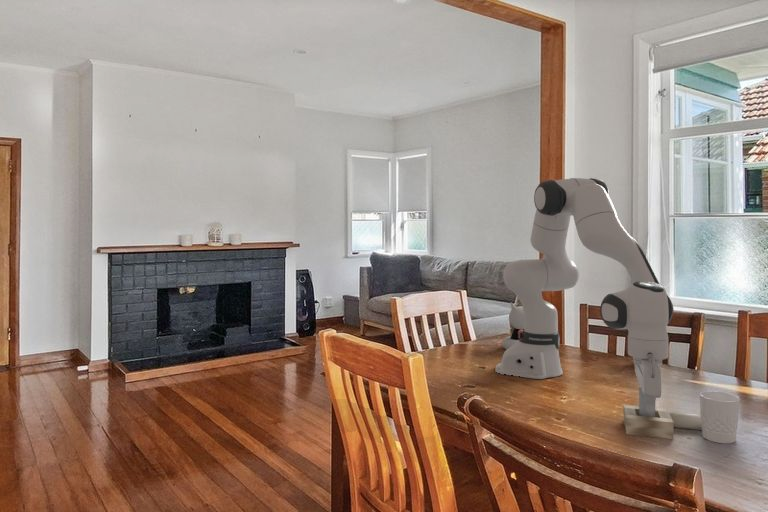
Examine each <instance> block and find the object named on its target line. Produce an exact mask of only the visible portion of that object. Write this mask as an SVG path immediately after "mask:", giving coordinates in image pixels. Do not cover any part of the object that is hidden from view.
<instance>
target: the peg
mask: <svg viewBox="0 0 768 512" xmlns="http://www.w3.org/2000/svg"><path fill="white" fill-rule="evenodd" d="M645 402H646V401H645V396H644V394H643V392H642V389H641V387H639V388H638V406H639V416H646V417H655V408H656V404H655V405H654V412H647V411H646V409H645Z"/></svg>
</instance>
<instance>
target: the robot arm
mask: <svg viewBox="0 0 768 512" xmlns="http://www.w3.org/2000/svg"><path fill="white" fill-rule="evenodd" d="M533 201H534V205H535V209H536V210H535V214H534V219H533V223H532V228H531V235H530V244H531V246H532V248H533V249H534V250H536V251H537V252H538V253H540V254H542V258H539V259H531V258H530V259H520V260H514V261H511V262H508V263H507V265H505V267H504V269H503V273H502V276H503V277H502V279H503V281H504V282H503V283H504V284H505V287H506V288H507V289H509V290H510V291H511V292H512V293H514V294H515V295H516V297H517V298H518V299H519V301H520V304H521V306H522V307H523V312H524V330H522V329H521V330H519V331H518V340H519V341H518V342H517V343H515V344H514V345H512V346H511V347H510V348H508V349H507V350H506V349H505V351H504V352H503V355H502V358H501V362H499V363H498V364H496V365H495V369H494V370H495V373H496V372H497V373H496V374H498V373H500V374H499V375H504V374H506V376H511V375H513V376H512V377H519V376H520V378H527V379H536V380H544V379H547V378H548V379H549V378H556V377H559V376H561V375H563V373H564V371H563V369H562V366H561V361H560V353H559V351H560V350H559V349H560V341H561V339H560V332H559V329H558V328H559V326H558V325H559V319H558V318H559V315H558V310H557V308H556V306H555V305H553V304H552V303H550V302H548V301H546V300H544V297H543V294H542V292H555V291H556V292H558V291H559V292H560V291H564V290H569V289H572V288H574V287H575V286H576V284H577V283H578V281H579V279H580V278H579V277H580V275H579V274H580V272H579V269H578V267H577V265H576V263H575V261H573V260H571V258H569V256H568V253H567V251H566V245H567V237H568V231H569V226H570V221H571V216H573V220H574V225H575V227H576V231H577V235H578V237H579V241H580V242H581V244H582V246H584V247H585V248H586V249H587V250H589V251H590V252H592V253H595V254H598V255H602V256H605V257H607V258H610V259H612V260H615V261H617V262H618V263H620V264H621V265H622V266H623V267H625V269H626V271H627V273H628V276H629V278H630V279H631V281H632V283H631V284H630V285H629V286H628V287H627V288H625V289H623V290H619V291H616V292H612V293H608V294H607V295H605V296H604V298H602V301H601V304H600V308H599V310H600V317H601V321H603V323H604V324H605V325H606V326H607V327H608V328H610V329H612V330H613V329H614V330H617V331H618V330H621V331H622V330H627V331H628V334H627V355H628V356H630V357H631V358H633V366H634V372H635V373H634V374H635V375H636V377H637V378H636V379H637V382H638V383H639V386H640V387H641V389H642V392H643V394H644V396H645V401H646V402H645V409H646V411H647V412H654V405H655V406H656V400H657V399H659V398H661V397H662V371H661V370H662V369H661V365H662V364H663V360H666V359H668V358H669V334H668V330H667V328H668V324H669V323H670V322H671V320H672V318H673V316H674V304H673V302H672V299H671V298H670V297H669V295H668V294H667V290H666V288H665V287H664V286H662V285H661V284H660V281H659V280H658V278H657V276H656V274H655V273H654V270H653V269H652V266H651V265H650V263H649V260H648V258H647V257H646V254H645V253H644V250H643V249H642V247H641V246H640V244H639V243H638V241H637V240H636V239H635V238H634V237H633V236H631V235H630V234H629V233H628V232H627V230H626V229H625V228H624V226H623V225H622V224H621V221H620V219H619V217H618V214H617V210H616V209H615V206H614V204H613V202H612V199H611V198H610V190H609V188H608V185H607V184H606V182H605V181H603V180H602V179H598V178H592V177H591V178H584V177H583V178H581V177H571V178H565V179H563V178H562V179H555V180H553V179H550V180H545V181H542V182H540V183H539V184H538V185H537V187H536V188H535V191H534V195H533ZM640 387H639V388H640Z"/></svg>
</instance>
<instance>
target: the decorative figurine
mask: <svg viewBox="0 0 768 512" xmlns="http://www.w3.org/2000/svg"><path fill="white" fill-rule="evenodd" d="M510 306H511V310H510V312H509V314H508V322H509V324H510V325H511V326H512V327H513V331H512V333H511V335H510V336H509V335H508V336H506V337H505V338H504V339H503V340H502V341H501V342H502V347H503V349H505V351H506V350H507V349H508V348H510V347H511V346H512V345H514V344H515V343H517V342H518V341H519V340H518V331H519V330H521V329H522V330H524V312H523V307H522V305H520V306H519V305H518V306H516V305H515V304H514V303H513V302H512V301H510Z"/></svg>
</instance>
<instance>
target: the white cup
mask: <svg viewBox="0 0 768 512" xmlns="http://www.w3.org/2000/svg"><path fill="white" fill-rule="evenodd" d="M699 409H700V410H699V411H700V412H699V413H700V414H699V415H700V416H701V425H702V430H701V436H702V437H703V439H706V440H707V441H711V442H714V443H720V444H733V443H736V441H737V430H738V422H739V412H740V411H739V410H740V398H739V396H737V395H735V394H732V393H728V392H724V391H715V390H709V391H708V390H706V391H701V392H700V393H699Z"/></svg>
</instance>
